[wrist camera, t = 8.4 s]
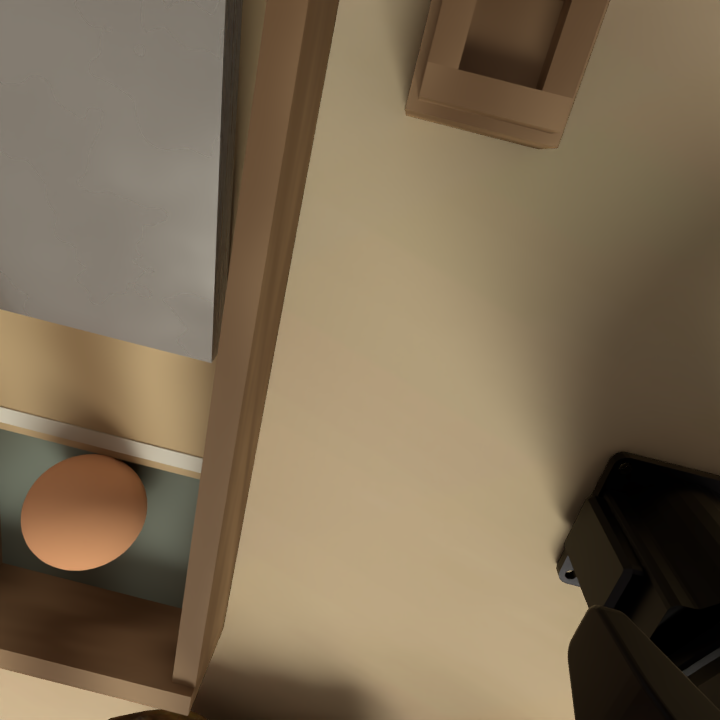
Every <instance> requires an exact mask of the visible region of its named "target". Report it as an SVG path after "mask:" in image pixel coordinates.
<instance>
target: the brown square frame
mask: <svg viewBox="0 0 720 720" xmlns="http://www.w3.org/2000/svg"><path fill="white" fill-rule="evenodd" d="M609 2H610V0H431V4H430V9H429V13H428V17H427V21H426V25H425V29H424V33H423V37H422V42H421V46H420V50H419V54H418V58H417V62H416V66H415V70H414V75H413V79H412V83H411V87H410V91H409V95H408V99H407V103H406V108H405V111H406V115H407V116H411V117H415V118H419V119H423V120H427V121H431V122H434V123H438V124H442V125H446V126H450V127H454V128H458V129H462V130H466V131H470V132H474V133H478V134H481V135H485V136H489V137H493V138H497V139H501V140H505V141H509V142H513V143H517V144H521V145H525V146H528V147H532V148H536V149H547V148H558V146H559V143H560V140H561V138H562V135H563V132H564V129H565V126H566V123H567V121H568V118H569V115H570V112H571V109H572V107H573V104H574V101H575V98H576V95H577V92H578V90H579V87H580V84H581V81H582V78H583V76H584V73H585V70H586V67H587V64H588V61H589V59H590V56H591V53H592V50H593V47H594V45H595V42H596V39H597V36H598V33H599V30H600V28H601V25H602V22H603V19H604V16H605V14H606V11H607V8H608V5H609Z"/></svg>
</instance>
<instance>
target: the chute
mask: <svg viewBox="0 0 720 720" xmlns="http://www.w3.org/2000/svg"><path fill="white" fill-rule="evenodd" d="M242 6H243V0H0V309H1V310H5V311H9V312H13V313H17V314H21V315H25V316H29V317H32V318H36V319H40V320H44V321H48V322H52V323H56V324H60V325H64V326H68V327H72V328H76V329H79V330H83V331H87V332H91V333H95V334H99V335H103V336H107V337H111V338H115V339H119V340H123V341H126V342H130V343H134V344H138V345H142V346H146V347H150V348H154V349H158V350H162V351H166V352H170V353H173V354H177V355H181V356H185V357H189V358H193V359H197V360H201V361H205V362H209V363H212V362H213V360H214V359H215V357H216V355H217V354H218V346H219V339H220V332H221V325H222V318H223V310H224V303H225V296H226V289H227V276H228V258H229V240H230V222H231V204H232V186H233V168H234V150H235V132H236V114H237V96H238V78H239V60H240V42H241V24H242Z"/></svg>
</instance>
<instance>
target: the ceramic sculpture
mask: <svg viewBox="0 0 720 720" xmlns="http://www.w3.org/2000/svg"><path fill="white" fill-rule="evenodd" d="M109 720H208V719H206V718H204V717H203V716H201V715H199V714H197V713H195V712H192V711H190V713H189V715H188V716H186V715H182V714H178V713H174V712H170V711H167V710H163V709H160V710H149V711H143V712H138V713H133V714H128V715H123V716H118V717H114V718H110V719H109Z"/></svg>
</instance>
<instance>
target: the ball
mask: <svg viewBox="0 0 720 720" xmlns="http://www.w3.org/2000/svg"><path fill="white" fill-rule="evenodd" d="M146 514H147V496H146V491H145V488H144V485H143V483H142V481H141V479H140V478H139V476H138V475H137V474H136V472H135V471H134V470H133V469H132V468H131V467H129V466H128V465H127V464H125V463H124V462H122V461H120V460H118V459H116V458H113V457H110V456H106V455H99V454H85V455H79V456H75V457H71V458H68V459H66V460H63V461H61V462H59V463H57V464H55V465H54V466H52V467H51V468H49V469H48V470H47V471H45V472H44V473H43V474H42V475H41V476H40V477H39V478H38V479H37V480H36V481H35V482H34V484H33V485H32V487H31V488H30V490H29V491H28V493H27V496H26V498H25V500H24V503H23V507H22V511H21V528H22V534H23V536H24V539H25V541H26V543H27V545H28V547H29V548H30V550H31V551H32V552H33V553H34V554H35V555H36V556H37V557H38V558H39V559H40V560H42V561H43V562H45V563H46V564H48V565H51V566H53V567H56V568H59V569H63V570H72V571H81V570H88V569H93V568H96V567H99V566H102V565H105V564H107V563H109V562H111V561H112V560H114V559H116V558H117V557H119V556H120V555H121V554H123V553H124V552H125V551H126V550H127V549H128V548H129V547H130V546H131V545H132V544H133V542H134V541H135V540H136V538H137V537H138V535H139V533H140V532H141V530H142V527H143V525H144V522H145V519H146Z"/></svg>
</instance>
